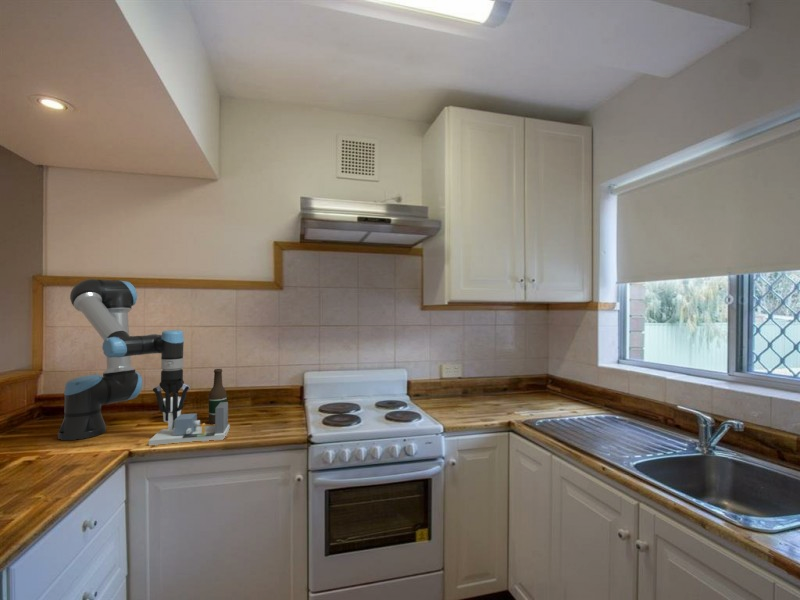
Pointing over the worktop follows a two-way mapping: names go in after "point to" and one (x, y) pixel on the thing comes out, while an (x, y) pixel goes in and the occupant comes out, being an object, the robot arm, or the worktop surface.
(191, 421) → the carriage
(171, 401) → the white cup
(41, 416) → the worktop surface
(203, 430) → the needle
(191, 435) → the board
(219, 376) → the beer bottle
